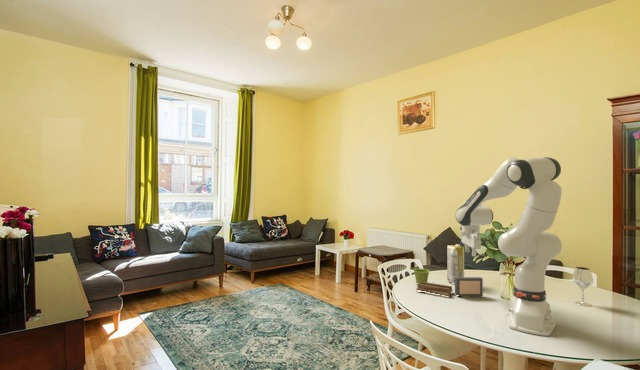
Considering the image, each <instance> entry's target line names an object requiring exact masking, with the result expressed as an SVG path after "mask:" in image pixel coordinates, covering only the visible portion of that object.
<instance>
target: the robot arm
mask: <svg viewBox="0 0 640 370" xmlns="http://www.w3.org/2000/svg"><path fill="white" fill-rule="evenodd" d="M561 172H562V167H561V163H559V161H558V160H557V159H555V158H553V157H545V156H544V157H529V158H528V157H527V158H524V159H518V158H516V157H512V158H511V157H510V158H507V159H506V160H505V161H503V162H502V163H501V165H500V166H499V167H498V168H497V169H496V171H495V172H494V173H493V175H492V176H491V178H489V179H488V180H487V181H486V182H485V183H484V184H481V185H480V186H478V188H477V189H476V190H475V191H474V192H473V193H472V194H471V195H470V196H469V198H468V199H467V200H466V199H465V200H464V201H463V203H462V205H461V206H460V207H459V208H457V209H456V212H455V216H454V217H455V220H456V222H457V223H458V224H460V225H461V226H460V227H459V231H460V240H461V243H462V244H464V253H468V254H469V253H470V251H472V252H471V256H472V257H476V256H477V253H478V250H481V248H482V238H481V237H482V236H481V235H480V231H481V226H488V225H490V224H491V223H493V220H494V212H493V210H492V209H491V208H490V207H487V206H485V205H483V203H485V202H486V201H490V200H493V199H494V200H495V199H499V198H505V197H508V196H509V195H511V194H512V193H513V192H515V190H516V189H517V187H519V188H520V189H521V190H527V189H528V192H529V193H528V197H527V199H526V200H527V201H526V202H525V203H526V204H525V207H524V209H523V212H522V215H521V217H520V218H519V220H518V221H517V222H516V224H515V225H513V227H511V228H510V229H509V230H507V231H505V232H503V233H501V235H500V236H499V238H498V240H497V246H498V249H499V251H500V252H501V253H502V254H503V255H504V256H509V257H514V258H525V259H524V261H523V262H522V263H520V264H519V265H518V266H516V267H515V270H514V286H513V290H512V291H513V296H511V297H510V298H509V308H508V312H509V313H508V312H506V313H504V318H505V320H506V323H507V326H508V328H510V329H513V330H516V331H517V332H523V333H525V334H526V333H527V334H531V335H537V336H543V337H544V336H546V337H549V336H550V335H552V332H554V329H556V327H557V323H556V322H554V321H553V320H552V315H551V313H552V310H551V304H550V303H548V301H547V292H546V290H545V289H546V288H545V286H546V285H545V282H546V281H545V280H546V279H545V278H546V272H547V271H546V270H547V269H548V267H549V264H550V262H551V261H552V260H553V259H554V258H555V257H556V256H558V255H559V254H560V252H561V251H562V246H563V245H562V241H561V239H560V237H558V236H557V234H554V233H550V232H546V231H547V230H548V229H550V228H551V227H552V226H553V224H554V221H555V219H556V217H557V216H556V215H557V213H558V210H559V207H560V203H561V199H562V190H563V189H562V187H561V185H560V184H559V183H558V182H557V181H554V180H556V179H557V178H559V176H560V175H561ZM470 248H471V250H470ZM476 249H477V251H476Z"/></svg>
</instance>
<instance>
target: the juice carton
mask: <svg viewBox="0 0 640 370" xmlns="http://www.w3.org/2000/svg"><path fill="white" fill-rule="evenodd" d="M446 250H447V252H446V254H447V255H446V256H447V259H446V260H447V261H446V262H447V264H446V265H447V266H446V267H447V269H446V270H447V275H446V276H447V277H446V278H447V282H448V281H450V282H452V283H454V284H455V277H465V246H464V247H463V246H461V244H458V243H456V244H455V245H453V244H451V245H447V249H446ZM452 283H451V284H452ZM454 284H453V285H454Z"/></svg>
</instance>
